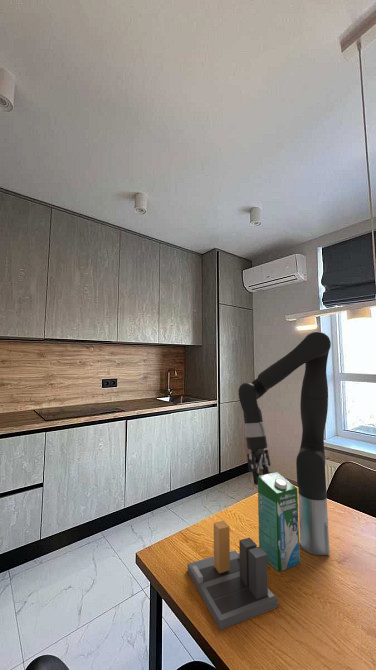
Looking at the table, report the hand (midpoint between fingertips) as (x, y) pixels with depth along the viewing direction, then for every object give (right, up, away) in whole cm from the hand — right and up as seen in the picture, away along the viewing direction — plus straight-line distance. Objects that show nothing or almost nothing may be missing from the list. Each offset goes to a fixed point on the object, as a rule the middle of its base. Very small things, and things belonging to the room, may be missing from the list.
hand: (262, 482), depth 101 cm
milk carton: (+2, -19, -11) cm, 22 cm away
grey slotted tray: (-16, -17, -23) cm, 33 cm away
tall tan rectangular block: (-17, -15, -19) cm, 30 cm away
